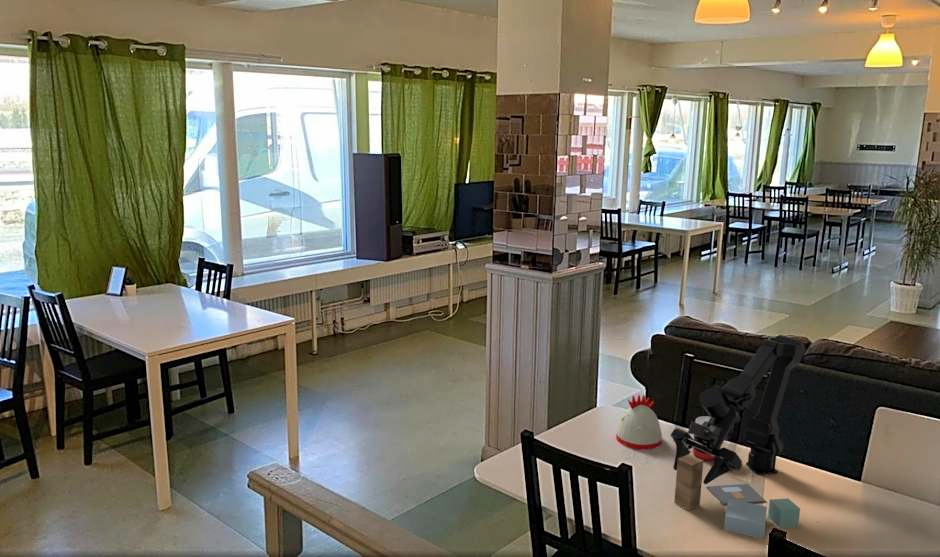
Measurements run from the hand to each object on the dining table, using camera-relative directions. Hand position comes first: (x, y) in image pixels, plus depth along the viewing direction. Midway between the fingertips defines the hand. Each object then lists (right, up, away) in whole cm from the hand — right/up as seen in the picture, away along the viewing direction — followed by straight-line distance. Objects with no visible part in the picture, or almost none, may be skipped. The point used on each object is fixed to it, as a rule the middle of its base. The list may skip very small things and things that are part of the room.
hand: (689, 476), depth 180 cm
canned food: (+14, -2, +29) cm, 33 cm away
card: (+14, -7, +7) cm, 17 cm away
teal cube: (+21, -10, -6) cm, 24 cm away
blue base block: (+11, -10, -8) cm, 17 cm away
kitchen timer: (-3, 0, +40) cm, 40 cm away
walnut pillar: (0, -8, +2) cm, 8 cm away
